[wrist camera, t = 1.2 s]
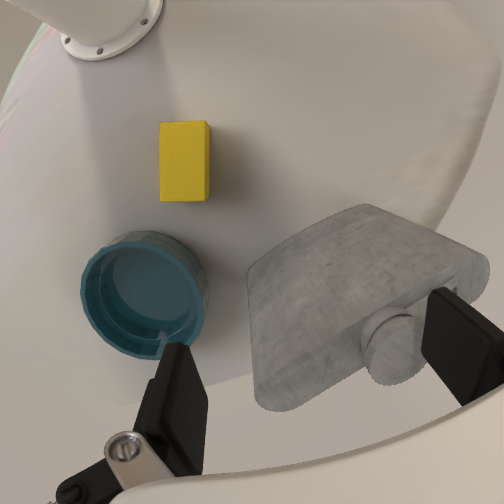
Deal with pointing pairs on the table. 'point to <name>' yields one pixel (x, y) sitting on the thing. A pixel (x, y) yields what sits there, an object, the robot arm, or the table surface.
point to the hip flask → (349, 302)
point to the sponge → (184, 161)
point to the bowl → (144, 294)
